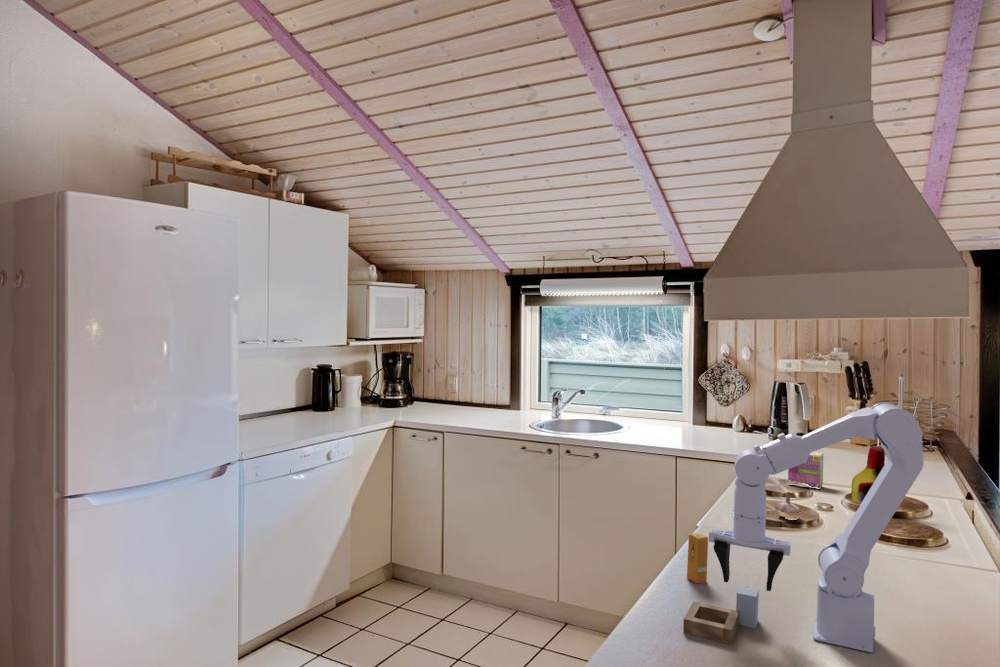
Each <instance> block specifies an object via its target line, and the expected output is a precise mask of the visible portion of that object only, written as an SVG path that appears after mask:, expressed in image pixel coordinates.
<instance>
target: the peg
mask: <svg viewBox="0 0 1000 667" xmlns="http://www.w3.org/2000/svg"><path fill="white" fill-rule="evenodd" d="M759 594H760V593H759V589H755V588H750V587H744V586H740V585H739V587H738V589H737V592H736V602H735V603H736V607H735V611H739V625H740V626H744V627H748V628H751V629H756V628H757V625H758V621H759ZM739 625H738V626H739Z"/></svg>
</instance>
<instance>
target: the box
mask: <svg viewBox="0 0 1000 667" xmlns="http://www.w3.org/2000/svg"><path fill="white" fill-rule="evenodd" d="M788 480H791V481H796V482H800V483H805V484H808V485H809V486H811V487H818V488H821V486H822V484H823V485H824V453H821V452H815V451H813V452H811V453H810V454H809V456H808V459H807V462H805V463H802V464H800V465H797V466H795V467H793V468H790V469H788V470H787V481H788ZM821 489H822V488H821Z"/></svg>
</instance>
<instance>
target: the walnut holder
mask: <svg viewBox="0 0 1000 667" xmlns="http://www.w3.org/2000/svg"><path fill="white" fill-rule="evenodd" d="M738 627H739V611H736V609H735V610H734V609H730V608H726V607H721V606H716V605H711V604H708V603H707V604H706V603H703V602H697V601H692V603H691V605H690V607H689V608H688V611H687V612H686V614H685V616H684V618H683V629H682V631H683V633H685V634H689V635H693V636H698V637H701V638H706V639H710V640H714V641H718V642H722V643H726V644H732V643H733V640H734V638H735V636H736V632H737V630H738Z"/></svg>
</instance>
